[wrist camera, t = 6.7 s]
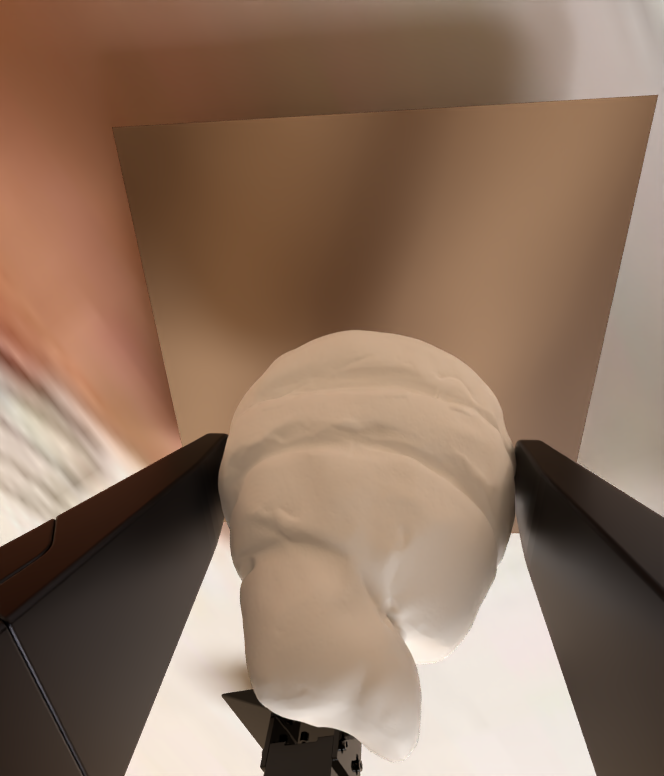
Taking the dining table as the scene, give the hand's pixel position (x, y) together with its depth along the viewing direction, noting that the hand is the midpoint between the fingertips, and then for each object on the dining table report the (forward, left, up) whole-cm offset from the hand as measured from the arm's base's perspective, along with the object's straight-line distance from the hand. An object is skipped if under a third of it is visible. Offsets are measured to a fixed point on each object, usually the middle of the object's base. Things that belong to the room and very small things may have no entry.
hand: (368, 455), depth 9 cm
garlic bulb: (0, 0, -1) cm, 1 cm away
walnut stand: (0, 0, -7) cm, 7 cm away
